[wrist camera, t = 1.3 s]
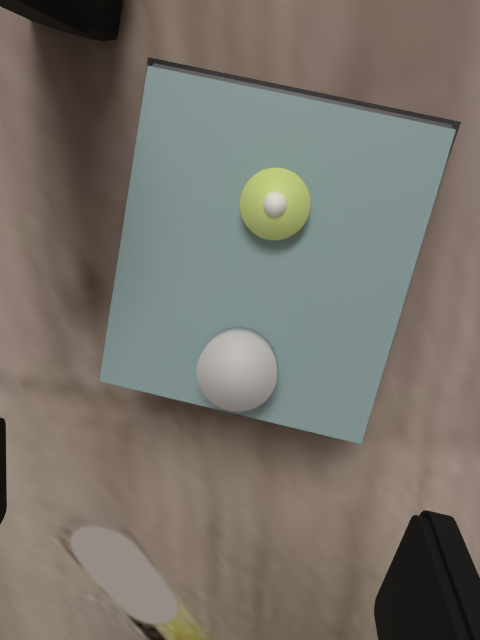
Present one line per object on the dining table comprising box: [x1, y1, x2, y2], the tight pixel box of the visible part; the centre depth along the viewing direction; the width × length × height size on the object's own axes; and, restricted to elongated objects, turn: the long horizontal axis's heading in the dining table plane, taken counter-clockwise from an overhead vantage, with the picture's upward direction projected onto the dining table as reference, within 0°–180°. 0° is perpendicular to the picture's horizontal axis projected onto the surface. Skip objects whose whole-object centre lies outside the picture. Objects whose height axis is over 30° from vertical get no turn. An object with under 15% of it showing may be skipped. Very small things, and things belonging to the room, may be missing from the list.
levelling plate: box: [99, 63, 456, 444], centre depth 27 cm, size 20×18×4 cm
